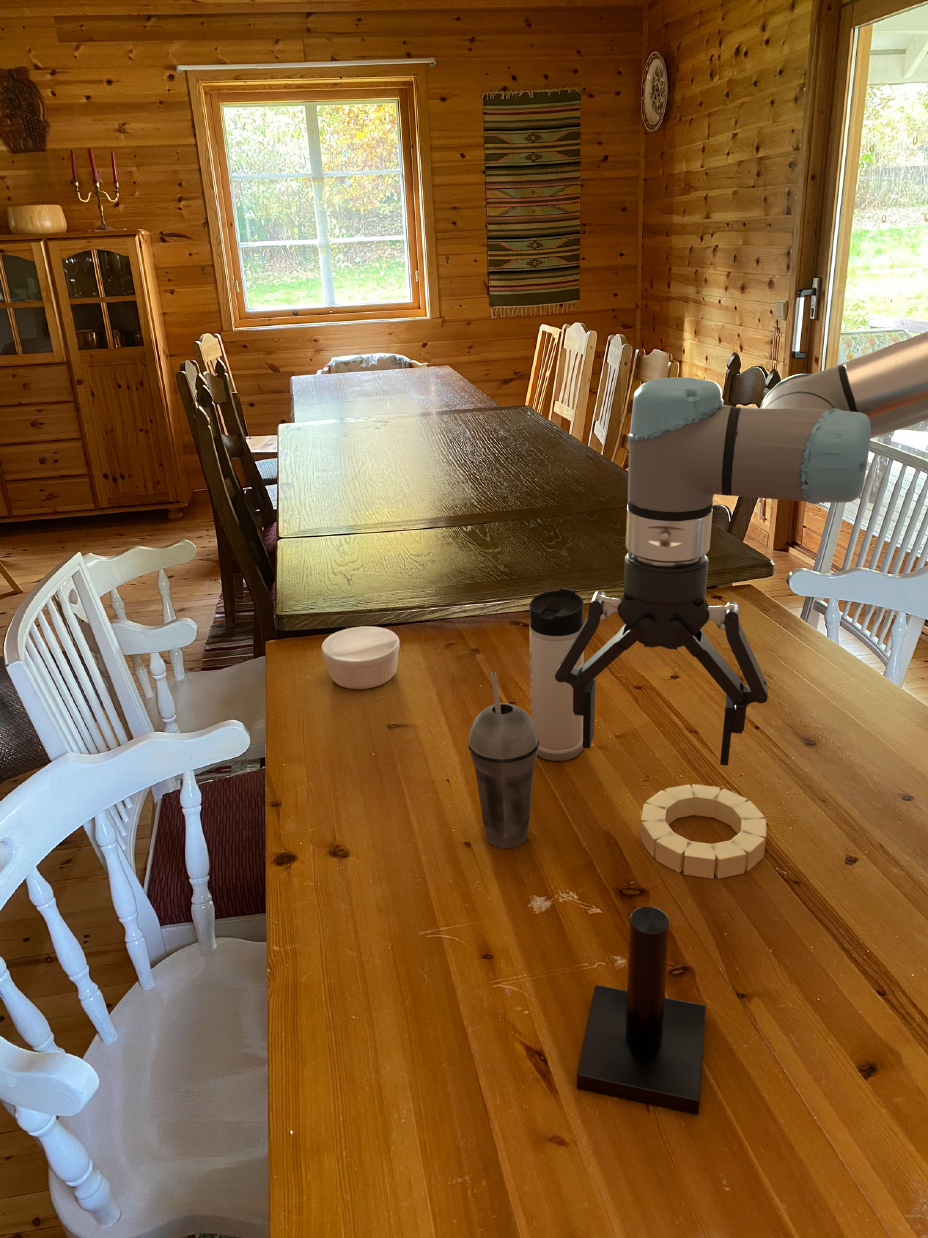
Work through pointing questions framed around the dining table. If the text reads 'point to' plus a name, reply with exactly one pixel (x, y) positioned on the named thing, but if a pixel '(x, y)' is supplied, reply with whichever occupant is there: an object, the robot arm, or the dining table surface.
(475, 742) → the beverage cup
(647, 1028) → the stand
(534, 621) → the travel mug
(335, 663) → the ramekin
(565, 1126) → the dining table surface
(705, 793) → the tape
